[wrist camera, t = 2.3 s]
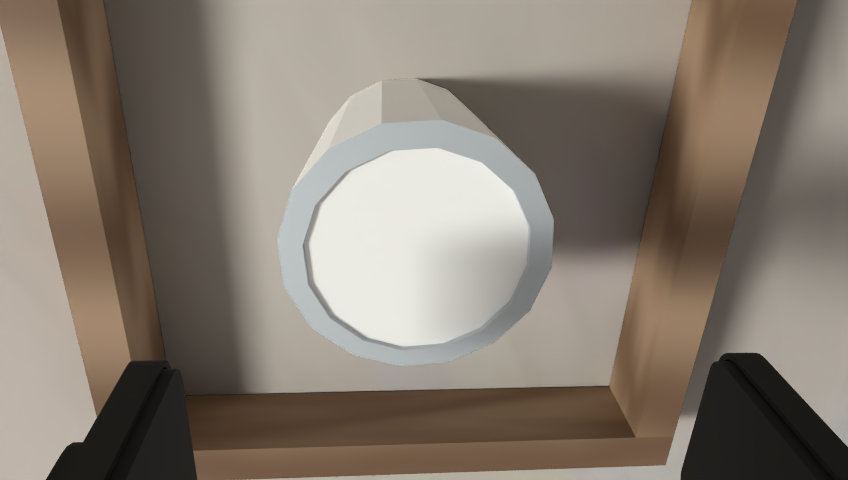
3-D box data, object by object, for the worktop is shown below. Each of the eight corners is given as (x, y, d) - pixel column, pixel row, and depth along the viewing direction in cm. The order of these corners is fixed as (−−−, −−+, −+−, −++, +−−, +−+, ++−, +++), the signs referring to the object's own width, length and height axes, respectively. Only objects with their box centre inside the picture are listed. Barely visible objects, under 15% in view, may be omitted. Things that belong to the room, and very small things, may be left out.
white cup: (539, 176, 23) (605, 275, 16) (385, 282, 24) (392, 409, 18) (425, 12, 20) (452, 56, 14) (258, 142, 21) (214, 236, 15)
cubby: (24, -124, 17) (-39, -131, 15) (759, -88, 19) (823, -89, 17) (139, 425, 26) (113, 483, 23) (636, 412, 28) (665, 465, 25)
